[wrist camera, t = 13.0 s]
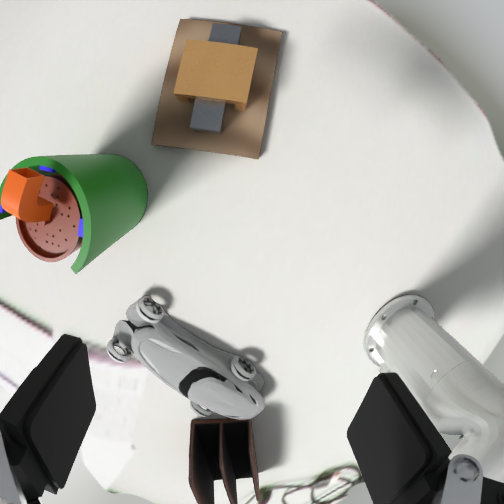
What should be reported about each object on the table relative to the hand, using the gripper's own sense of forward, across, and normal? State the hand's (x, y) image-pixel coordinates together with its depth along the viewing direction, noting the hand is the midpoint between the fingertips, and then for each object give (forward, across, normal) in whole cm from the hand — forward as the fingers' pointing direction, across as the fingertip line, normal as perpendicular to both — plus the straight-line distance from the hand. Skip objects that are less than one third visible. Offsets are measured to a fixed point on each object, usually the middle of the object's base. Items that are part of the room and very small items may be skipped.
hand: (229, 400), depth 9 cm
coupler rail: (+27, +4, -16) cm, 31 cm away
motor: (+28, +15, -2) cm, 32 cm away
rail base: (+28, +4, -16) cm, 33 cm away
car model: (+29, +2, +21) cm, 36 cm away
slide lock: (+26, +4, -16) cm, 31 cm away
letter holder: (+29, -6, +41) cm, 51 cm away
